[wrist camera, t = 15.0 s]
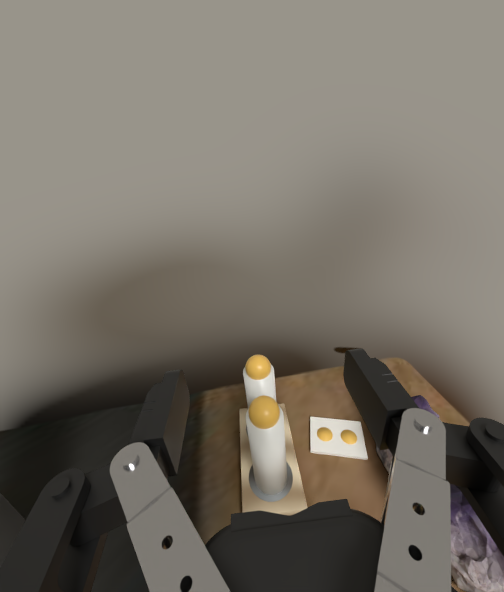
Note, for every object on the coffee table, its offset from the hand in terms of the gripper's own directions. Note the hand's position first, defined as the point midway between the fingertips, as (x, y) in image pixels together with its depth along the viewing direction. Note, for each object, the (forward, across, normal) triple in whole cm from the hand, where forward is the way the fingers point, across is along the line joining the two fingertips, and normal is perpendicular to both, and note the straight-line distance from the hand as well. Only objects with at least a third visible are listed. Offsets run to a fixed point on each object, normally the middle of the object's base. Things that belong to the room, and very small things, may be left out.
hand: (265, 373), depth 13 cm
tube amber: (+11, 0, +29) cm, 31 cm away
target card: (+16, -11, +30) cm, 36 cm away
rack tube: (+19, 0, +29) cm, 34 cm away
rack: (+15, 0, +30) cm, 33 cm away
